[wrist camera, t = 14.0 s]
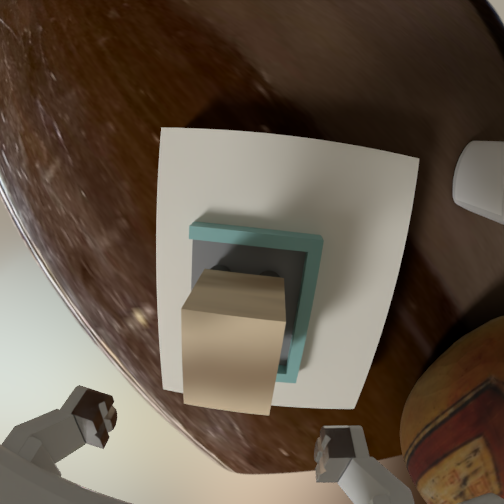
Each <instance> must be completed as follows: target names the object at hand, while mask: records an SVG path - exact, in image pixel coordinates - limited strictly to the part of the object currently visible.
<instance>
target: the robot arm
mask: <svg viewBox="0 0 504 504" xmlns="http://www.w3.org/2000/svg"><path fill="white" fill-rule="evenodd" d="M113 403H114V400H113V397H112V396H111V395H108V394H105V393H101V392H98V391H95V390H92V389H89V388H86V387H83V386H80V385H79V386H77V387H76V388H75V389H74V391H73V392H72V393H71V395H70V396H69V398H68V399H67V400H66V402H65V403H64V405H63V406H62V407H61V409H60V410H59V409H56V410H53V411H51V412H49V413H46V414H44V415H42V416H39V417H37V418H34V419H32V420H29V421H27V422H24V423H22V424H20V425H17V426H15V427H14V428H13V430H12V431H11V432H10V434H9V435H8V437H7V438H6V439H5V441H4V442H3V443H2V445H0V504H132V503H128V502H125V501H122V500H119V499H115V498H113V497H110V496H107V495H104V494H101V493H98V492H96V491H93V490H91V489H88V488H85V487H83V486H81V485H78V484H76V483H73V482H71V481H68V480H66V479H64V478H62V477H61V473H60V471H59V469H58V468H57V466H56V465H55V463H56V462H58V461H60V460H61V459H63V458H65V457H66V456H68V455H69V454H71V453H73V452H74V451H76V450H77V449H79V448H80V447H82V446H83V445H85V443H87V444H90V445H93V446H96V447H99V448H103V449H104V447H105V445H106V443H107V441H108V439H109V435H108V432H110V431H112V430H113V429H114V427H115V425H116V421H117V411H116V409H115V408H114V407H113V406H112V404H113ZM320 436H321V437H319V438H318V439H317V441H316V444H315V450H314V457H315V461H316V462H317V463H318V465H317V467H316V469H315V470H316V480H317V481H316V482H338V484H339V486H340V487H341V488H342V489H343V491H344V492H345V493H346V494H347V495H348V497H349V498H350V499H351V500H352V502H353V503H354V504H414V500H413V497H412V493H411V490H410V489H409V488H408V487H407V486H406V485H405V484H403V483H402V482H401V481H400V480H399V479H398V478H396V477H395V476H394V475H393V474H392V473H391V472H389V471H388V470H387V469H386V468H385V467H384V466H383V465H382V464H380V463H379V462H378V461H377V460H376V459H375V458H374V457H369V452H368V448H367V444H366V440H365V436H364V432H363V428H362V427H361V426H323V427H322V428H321V431H320ZM457 504H504V499H503V498H501V497H500V496H498V495H496V494H494V493H487V494H483V495H481V496H478V497H475V498H472V499H469V500H466V501H463V502H460V503H457Z"/></svg>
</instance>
